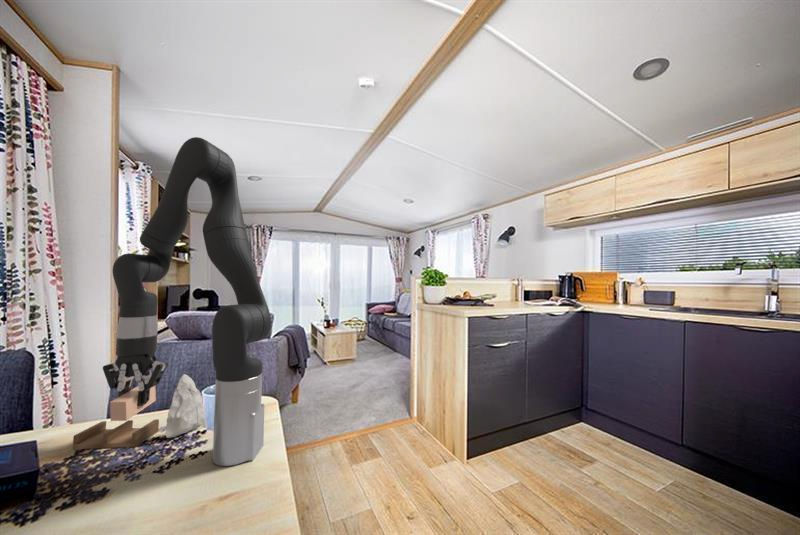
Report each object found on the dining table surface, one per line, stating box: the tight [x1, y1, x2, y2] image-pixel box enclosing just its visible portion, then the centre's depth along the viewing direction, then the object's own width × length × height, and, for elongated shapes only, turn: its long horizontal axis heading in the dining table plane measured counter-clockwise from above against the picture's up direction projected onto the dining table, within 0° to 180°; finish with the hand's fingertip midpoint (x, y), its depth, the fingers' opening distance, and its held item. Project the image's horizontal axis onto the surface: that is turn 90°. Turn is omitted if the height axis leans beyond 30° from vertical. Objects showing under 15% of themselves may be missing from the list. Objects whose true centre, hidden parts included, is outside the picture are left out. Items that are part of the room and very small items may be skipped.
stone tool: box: [165, 373, 205, 439], centre depth 74 cm, size 8×3×15 cm, turn 151°
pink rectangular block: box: [109, 385, 157, 422], centre depth 72 cm, size 3×9×4 cm, turn 5°
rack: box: [72, 419, 160, 450], centre depth 71 cm, size 14×7×3 cm, turn 95°
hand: (133, 404), depth 71 cm, fingers closed on pink rectangular block, 3 cm apart
